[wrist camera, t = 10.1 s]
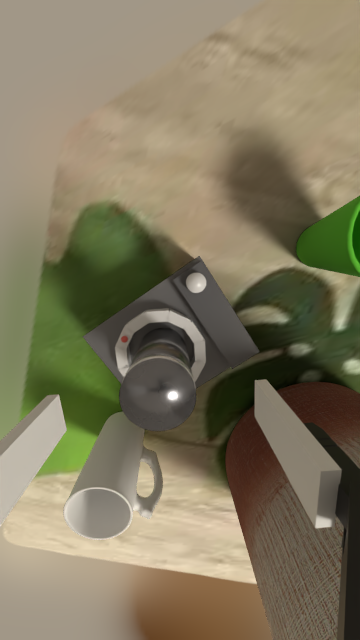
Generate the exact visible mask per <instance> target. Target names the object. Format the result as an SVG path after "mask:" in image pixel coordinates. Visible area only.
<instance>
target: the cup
mask: <svg viewBox="0 0 360 640" xmlns="http://www.w3.org/2000/svg"><path fill="white" fill-rule="evenodd" d="M296 253H297V256H298V258H299V259H300V261H301V262H302V263H304V264H305V265H307V266H310V267H315V268H319V269H324V270H329V271H334V272H339V273H344V274H348V275H353V276H358V277H360V196H359V197H357V198H355V199H354V200H352V201H351V202H349V203H347V204H346V205H344V206H342V207H341V208H339V209H338V210H336V211H334V212H333V213H331V214H330V215H328V216H326V217H325V218H323V219H322V220H320V221H318V222H317V223H315V224H314V225H312V226H310V227H309V228H307V229H306V230H305V231H304V232H303V233H302V234H301V236H300V237H299V239H298V242H297V246H296Z"/></svg>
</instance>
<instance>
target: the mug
mask: <svg viewBox="0 0 360 640" xmlns="http://www.w3.org/2000/svg"><path fill="white" fill-rule="evenodd" d="M144 431H145V429H143V428H141V427H138V426H137V425H135V424H134V423H132V422H131V421H130V420H129V419H128V418H127V417H126V415H125V414H124V412H118V413H115V414H113V415H111V416H110V417H109V418H108V419H107V420H106V422H105V424H104V426H103V428H102V430H101V432H100V434H99V436H98V438H97V440H96V442H95V444H94V446H93V448H92V450H91V452H90V455H89V457H88V459H87V461H86V463H85V465H84V467H83V469H82V471H81V473H80V475H79V477H78V479H77V481H76V483H75V485H74V487H73V490H72V492H71V494H70V496H69V498H68V500H67V501H66V503H65V505H64V510H63V514H64V519H65V521H66V523H67V525H68V526H69V527H70V529H71V530H73V531H74V532H75V533H77V534H78V535H80V536H82V537H85V538H88V539H94V540H104V539H110V538H113V537H116V536H118V535H120V534H121V533H123V532H124V531H125V530H126V529H127V528H128V527H129V525H130V523H131V521H132V516H133V511H138V512H139V514H140V516H142V517H145V518H147V519H150V518H151V516H152V513H153V510H154V508H155V506H156V505H157V503H158V501H159V499H160V496H161V493H162V488H163V479H162V472H161V469H160V465H159V462H158V458H157V455H156V453H155V452H154V451H151V450H148V449H146V448H145V447H144V446H143V438H144ZM141 461H142V462H145V463H147V464H148V465H149V466H150V468H151V469H152V472H153V475H154V490H153V492H152V494H151V495H150V496H149V497H141V496H139V495H138V494H137V490H136V488H137V480H138V473H139V466H140V462H141Z"/></svg>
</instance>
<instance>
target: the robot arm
mask: <svg viewBox="0 0 360 640" xmlns="http://www.w3.org/2000/svg"><path fill="white" fill-rule="evenodd" d="M255 418H256V420H257V422H258V424H259V425H260V427H261V429H262V431H263V433H264V435H265V436H266V438H267V440H268V442H269V444H270V446H271V448H272V449H273V451H274V453H275V455H276V457H277V459H278V460H279V462H280V464H281V466H282V468H283V470H284V472H285V473H286V475H287V477H288V479H289V481H290V483H291V484H292V486H293V488H294V490H295V492H296V494H297V496H298V497H299V499H300V501H301V503H302V505H303V507H304V508H305V510H306V512H307V514H308V516H309V518H310V519H311V521H312V523H313V525H314V527H315V528H325V527H335V519H336V516H337V517H338V519H339V520H340V522H341V523H342V525H343V526H344V531H343V538H342V545H341V547H342V562H341V578H340V595H339V611H338V628H337V640H360V469H359V468H358V466H357V465H356V464H355V463H354V462H353V461H352V460H351V459H350V458H349V457H348V456H347V455H346V454H345V452H344V451H343V450H342V449H341V448H340V447H338V446H337V444H336V443H335V442H334V441H333V440H332V439H331V437H330V436H329V435H328V434H327V433H326V432H325V431H324V430H323V429H322V428H320V427H319V426H317V425H316V424H314V423H313V422H311V423H302V422H301V420H300V419H299V418H298V417H297V416H296V414H295V413H294V412H293V411H292V410H291V408H290V407H289V406H288V405H287V404H286V402H285V401H284V400H283V399H282V398H281V396H280V395H279V394H278V393H277V392H276V390H275V389H274V388H273V387H272V386H271V384H270V383H269V382H268V381H267V380H266V379H265V380H255ZM66 430H67V429H66V424H65V420H64V415H63V411H62V406H61V402H60V397H59V395H47V396H46V397H45V398H44V399H43V400H42V401H41V402H40V403H39V404H38V405H37V406H36V407H35V408H34V409H33V410H32V411H31V412H30V413H29V414H28V415H27V416H26V417H25V418H24V419H22V420H21V421H20V422H19V423H18V424H17V425H16V426H15V427H14V428H13V429H12V430H11V431H10V432H9V433H8V434H7V435H6V436H5V437H4V438H3V439H2V440H1V441H0V526H1V525H2V523H3V522H4V520H5V519H6V517H7V516H8V515H9V513H10V512H11V510H12V509H13V507H14V506H15V504H16V503H17V501H18V500H19V499H20V497H21V496H22V494H23V493H24V491H25V490H26V488H27V487H28V485H29V484H30V483H31V481H32V480H33V478H34V477H35V475H36V474H37V472H38V471H39V469H40V468H41V467H42V465H43V464H44V462H45V461H46V459H47V458H48V456H49V455H50V453H51V452H52V451H53V449H54V448H55V446H56V445H57V443H58V442H59V440H60V439H61V437H62V436H63V435H64V433H65V432H66Z"/></svg>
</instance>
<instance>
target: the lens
mask: <svg viewBox="0 0 360 640" xmlns="http://www.w3.org/2000/svg"><path fill="white" fill-rule="evenodd" d="M119 401H120V405H121V408H122V410H123V412H124V414H125V415H126V417H127V418H128V419H129V420H130V421H131V422H132V423H134V424H135V425H137V426H138V427H141V428H143V429H146V430H150V431H165V430H169V429H172V428H175V427H177V426H178V425H180V424H182V423H183V422H184V421H185V420H186V419H187V418H188V417H189V416H190V414H191V413H192V411H193V409H194V406H195V403H196V387H195V382H194V378H193V375H192V371H191V366H190V362H189V357H188V353H187V348H186V344H185V341H184V339H183V338H182V336H181V335H180V334H179V333H177V332H176V331H174V330H172V329H169V328H157V329H154V330H152V331H150V332H149V333H147V334H146V335H145V336H144V338H143V339H142V341H141V343H140V346H139V348H138V350H137V352H136V354H135V356H134V358H133V361H132V363H131V365H130V367H129V369H128V370H127V372H126V374H125V376H124V378H123V381H122V384H121V388H120V392H119Z"/></svg>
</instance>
